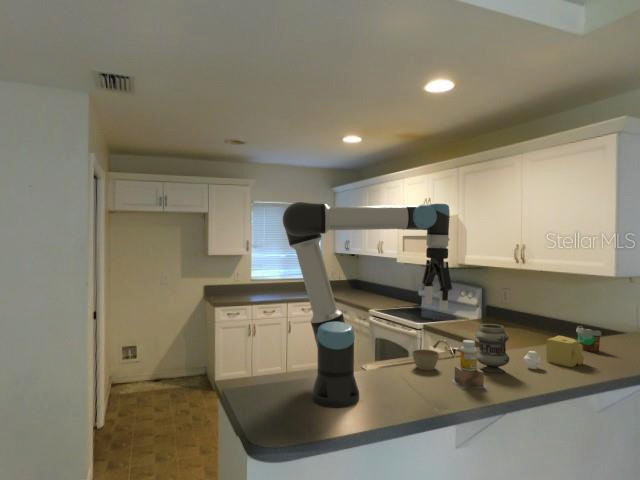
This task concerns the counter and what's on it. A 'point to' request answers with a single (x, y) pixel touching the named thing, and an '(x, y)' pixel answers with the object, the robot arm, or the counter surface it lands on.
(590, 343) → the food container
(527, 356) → the white rounded lump
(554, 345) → the cheese
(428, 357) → the flower pot
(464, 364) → the supplement bottle
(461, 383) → the walnut block
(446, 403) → the counter surface
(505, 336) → the apothecary jar
